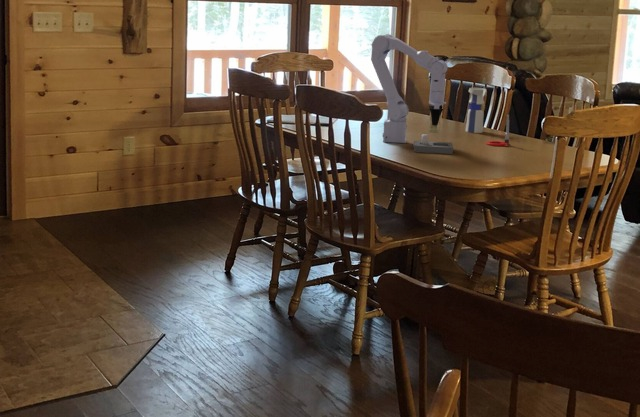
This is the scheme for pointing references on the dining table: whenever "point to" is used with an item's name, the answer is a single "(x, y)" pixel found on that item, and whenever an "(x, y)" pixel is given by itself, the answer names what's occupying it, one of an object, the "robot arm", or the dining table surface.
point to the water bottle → (476, 109)
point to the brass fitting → (434, 126)
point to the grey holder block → (432, 146)
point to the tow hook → (505, 137)
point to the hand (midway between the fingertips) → (434, 124)
